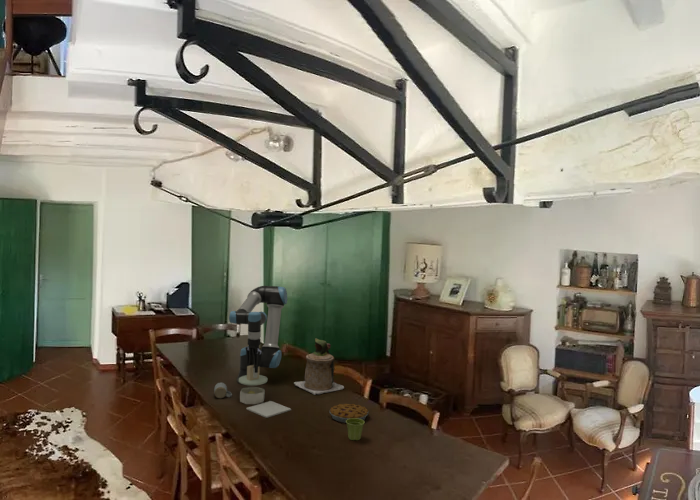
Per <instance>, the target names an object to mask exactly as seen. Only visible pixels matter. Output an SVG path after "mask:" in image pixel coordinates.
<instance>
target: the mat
mask: <svg viewBox="0 0 700 500" xmlns="http://www.w3.org/2000/svg"><path fill="white" fill-rule="evenodd" d="M246 410H247V411H249V412H251V413H254V414H256V415H259V416H261V417H263V418H265V419H266V418H267V419H268V418H271V417H274V416H277V415H281V414H284V413H287V412H290V411H292V409H291V408H290V407H287V406H284V405H282V404H280V403H277V402H275V401H272V400H269V401H266V402H262V403H258V404H254V405H252V406H248V407H246Z"/></svg>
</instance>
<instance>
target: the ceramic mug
mask: <svg viewBox="0 0 700 500" xmlns="http://www.w3.org/2000/svg"><path fill="white" fill-rule="evenodd" d="M213 391H214V392H213V393H214V394H213V395H214V396H215V398H218V399H223V398H225V397H227V398H232V396H233V393H232V392H231V391H230V390H228V387H227V384H225V383H224V382H217V383H216V384H215V386H214V389H213Z"/></svg>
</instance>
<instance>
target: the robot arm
mask: <svg viewBox="0 0 700 500" xmlns="http://www.w3.org/2000/svg"><path fill="white" fill-rule="evenodd" d="M246 296H247V297H246V299H245V300H244V301H243V303H242V304H241V305H240V306H239V307H238V309H237V310H231V311H230V312H229V316H228V319H229V321H228V322H230V323H231V324H236V325H247V345H248V346H245V347H243V348H241V349H240V353H239V372H238V375H237V378H236V383H238V384H239V385H243V386H244V384H241V383H239V378H240V377H242V376H245V375H247V366H250V365H254V367H253V378H257V372H258V367H260V368H269V369H276V368H278V367H279V365H280V363H281V360H282V350H280V346H279V344H278V343H279V334H280V326H281V325H280V324H281V318H282V317H281V316H282V309H283V308H285V305H287V304H288V292H287V289H286V288H285V287H284V286H280V285H279V286H275V285H261V286H257V287H255V288H253V289H252V290H250V292H249V293H248V294H247V295H246ZM260 303H261V304H262V303H263V304H266V306H267V308H268V309H267V310H268V311H267V314H266V313H265V312H264V311H253V310H254V309H255V308H256V306H257V305H260ZM265 323H266V326H265V327H266V329H265V336H264V344H263V345H262V346H261V348H260V345H261V338H262V337H261V335H262V329H261V328H262V325H264V324H265Z"/></svg>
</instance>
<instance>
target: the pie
mask: <svg viewBox="0 0 700 500" xmlns="http://www.w3.org/2000/svg"><path fill="white" fill-rule="evenodd" d="M329 414H330V415H331V417H332V418H331V419H333V420H335V421H336V422H340V423H344V424H345V423H346V420H347V419H351V418H357V419H362V420H363V421H365V419H366V418H367V416H368V415H369V410H368V409H367V407H365V406H362V405H360V404H355V403H352V404H349V403H338V405H333V406H331V408H330V409H329ZM346 424H347V423H346Z"/></svg>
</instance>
